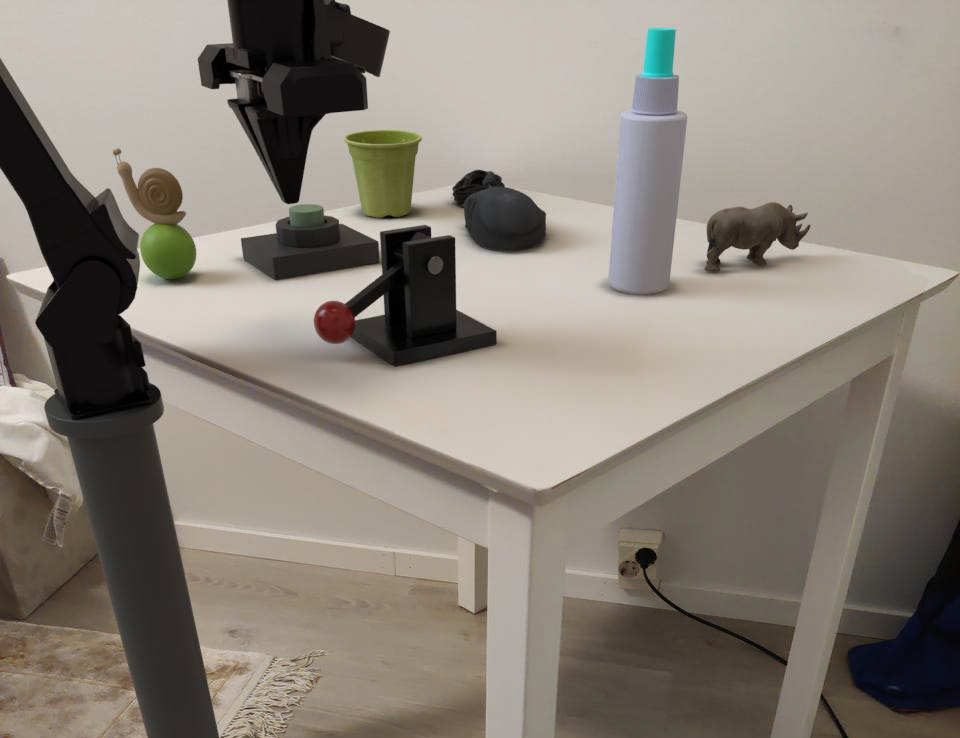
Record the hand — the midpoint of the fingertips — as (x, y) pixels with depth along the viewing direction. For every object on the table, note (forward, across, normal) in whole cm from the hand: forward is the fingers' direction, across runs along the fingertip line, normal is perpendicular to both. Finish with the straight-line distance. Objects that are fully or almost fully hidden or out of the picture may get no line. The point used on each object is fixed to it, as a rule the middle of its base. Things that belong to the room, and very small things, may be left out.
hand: (290, 202), depth 77 cm
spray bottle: (+12, 0, -36) cm, 38 cm away
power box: (+12, +26, -11) cm, 30 cm away
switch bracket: (+12, -2, -10) cm, 16 cm away
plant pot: (+12, +41, -28) cm, 51 cm away
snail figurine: (+12, +27, +4) cm, 30 cm away
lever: (+8, -2, -6) cm, 11 cm away
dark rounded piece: (+12, +31, -38) cm, 51 cm away
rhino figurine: (+12, +1, -52) cm, 53 cm away
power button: (+8, +26, -11) cm, 29 cm away
